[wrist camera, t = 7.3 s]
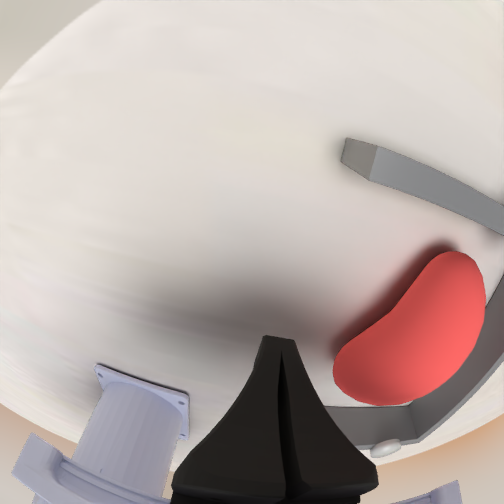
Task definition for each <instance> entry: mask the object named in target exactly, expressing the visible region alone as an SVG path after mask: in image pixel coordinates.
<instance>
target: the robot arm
mask: <svg viewBox="0 0 504 504" xmlns="http://www.w3.org/2000/svg"><path fill="white" fill-rule="evenodd" d="M94 370H95V373H96V375H97V378H98V380H99V382H100V385H101V387H102V389H103V394H102V396H101V398H100V400H99V402H98V403H97V405H96V407H95V409H94V411H93V413H92V416H91V418H90V420H89V422H88V424H87V426H86V428H85V430H84V432H83V434H82V436H81V439H80V441H79V443H78V445H77V447H76V449H75V452H74V454H73V456H72V458H71V459H70V458H68V457H66V456H65V455H63V454H62V453H61V452H60V451H59V450H58V449H56V448H55V447H54V446H52V445H51V444H49V443H48V442H46V441H45V440H43V439H42V438H40V437H39V436H37V435H36V434H34V433H31V434H30V436H29V438H28V439H27V441H26V444H25V446H24V447H23V449H22V452H21V453H20V456H19V458H18V460H17V462H16V464H15V466H14V469H13V471H12V475H13V476H14V477H15V478H16V479H18V480H19V481H20V482H21V483H23V484H24V485H25V486H27V487H28V488H29V489H31V490H32V491H33V492H35V496H34V499H33V502H32V504H357V503H360V495H362V494H365V493H367V492H369V491H371V490H373V489H375V488H376V487H377V486H378V485H379V483H378V475H377V470H376V466H375V464H373V463H372V462H371V461H370V460H369V459H368V458H367V457H365V456H364V455H363V454H362V453H361V452H360V451H359V450H358V449H357V448H356V447H355V446H354V445H353V444H352V443H351V442H350V441H349V439H348V438H347V437H346V436H345V435H344V433H343V432H342V431H341V430H340V428H339V427H338V426H337V425H336V423H335V422H334V420H333V419H332V418H331V416H330V415H329V413H328V412H327V410H326V409H325V407H324V405H323V404H322V402H321V400H320V398H319V397H318V395H317V393H316V391H315V389H314V387H313V385H312V383H311V381H310V379H309V377H308V374H307V372H306V370H305V368H304V365H303V363H302V360H301V357H300V355H299V352H298V349H297V346H296V343H295V341H294V340H291V339H285V338H279V337H274V336H268V335H265V336H263V338H262V341H261V344H260V347H259V350H258V353H257V356H256V359H255V362H254V368H253V371H252V373H251V375H250V377H249V379H248V381H247V382H246V384H245V386H244V388H243V389H242V391H241V393H240V394H239V396H238V397H237V399H236V400H235V402H234V403H233V405H232V406H231V407H230V409H229V410H228V411H227V413H226V414H225V415H224V417H223V418H222V419H221V420H220V421H219V423H218V424H217V425H216V426H215V427H214V428H213V429H212V431H211V432H210V433H209V434H208V435H207V436H206V437H205V438H204V439H203V440H202V441H201V442H200V443H199V444H198V445H197V446H196V447H195V448H194V449H192V450H191V451H190V453H189V454H188V455H187V457H186V458H185V459H184V461H183V462H182V463H181V464H180V466H179V467H178V468H177V470H176V471H175V473H174V476H173V481H172V484H171V486H172V489H173V494H172V498H171V500H170V499H166V498H163V497H162V495H163V491H164V487H165V484H166V480H167V476H168V473H169V469H170V465H171V462H172V458H173V455H174V451H175V448H176V444H177V440H178V439H182V440H188V438H189V397H188V396H187V395H186V394H184V393H181V392H177V391H173V390H170V389H166V388H163V387H160V386H156V385H153V384H150V383H147V382H144V381H141V380H138V379H135V378H132V377H129V376H127V375H124V374H121V373H119V372H116V371H113V370H111V369H108V368H106V367H103V366H101V365H96V366H95V367H94ZM392 504H462V500H461V493H460V489H459V484H458V480H456V481H453V482H451V483H448V484H446V485H443V486H441V487H439V488H437V489H435V490H433V491H431V492H429V493H427V494H423V495H420V496H417V497H414V498H411V499H407V500H403V501H400V502H396V503H392Z"/></svg>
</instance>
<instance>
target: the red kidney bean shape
mask: <svg viewBox="0 0 504 504" xmlns="http://www.w3.org/2000/svg"><path fill="white" fill-rule="evenodd" d="M485 303H486V294H485V288H484V282H483V277H482V274H481V272H480V270H479V268H478V266H477V264H476V262H475V261H474V260H473V259H472V258H471V257H469V256H468V255H467V254H464V253H461V252H457V251H452V252H445V253H442V254H439V255H438V256H436V257H435V258H433V259H432V260H431V261H430V262H429V263H428V264H427V265H426V267H425V268H424V269H423V270H422V272H421V273H420V274H419V276H418V277H417V278H416V280H415V281H414V282H413V284H412V285H411V286H410V287H409V289H408V290H407V291H406V293H405V294H404V295H403V297H402V298H401V299H400V300H399V302H398V303H397V304H396V306H395V307H394V308H393V309H392V310H391V311H390V312H389V313H388V314H387V315H385V316H384V317H383V318H381V319H380V320H378V321H377V322H376V323H374V324H373V325H372V326H370V327H369V328H368V329H366V330H365V331H363V332H362V333H360V334H359V335H358V336H356V337H355V338H353V339H352V340H350V341H349V342H348V343H347V344H346V345H344V346H343V347H342V349H341V350H340V351H339V353H338V354H337V356H336V358H335V361H334V365H333V377H334V381H335V384H336V385H337V386H338V387H339V388H340V389H341V390H342V391H343V392H344V393H345V394H347V395H348V396H350V397H352V398H354V399H355V400H357V401H359V402H363V403H367V404H372V405H376V406H383V405H399V404H403V403H406V402H409V401H412V400H414V399H417V398H420V397H423V396H425V395H427V394H428V393H430V392H432V391H433V390H435V389H436V388H438V387H439V386H441V385H442V384H443V383H445V382H446V381H447V380H448V379H449V378H450V377H451V376H453V375H454V374H455V373H456V372H457V371H458V369H459V368H460V367H461V365H462V364H463V362H464V361H465V360H466V358H467V357H468V355H469V354H470V353H471V351H472V350H473V348H474V346H475V344H476V341H477V339H478V336H479V333H480V331H481V328H482V325H483V322H484V314H485Z"/></svg>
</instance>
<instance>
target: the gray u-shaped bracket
mask: <svg viewBox="0 0 504 504" xmlns="http://www.w3.org/2000/svg"><path fill="white" fill-rule="evenodd" d="M341 162H342V163H344V164H345V165H347V166H348V167H350V168H351V169H353V170H354V171H356V172H357V173H359V174H360V175H362V176H363V177H364V178H366V179H367V180H369V181H372V182H375V183H378V184H382V185H385V186H387V187H390V188H393V189H396V190H399V191H402V192H405V193H407V194H410V195H413V196H416V197H418V198H421V199H423V200H426V201H429V202H431V203H434V204H436V205H439V206H441V207H443V208H446V209H448V210H451V211H453V212H455V213H457V214H460V215H462V216H464V217H466V218H469V219H471V220H473V221H475V222H477V223H479V224H481V225H483V226H486V227H488V228H490V229H492V230H494V231H496V232H497V233H499V234H501V235H503V236H504V206H502V205H501V204H499V203H497V202H496V201H494V200H492V199H491V198H489V197H487V196H486V195H484V194H482V193H480V192H479V191H477V190H475V189H473V188H472V187H470V186H468V185H466V184H464V183H462V182H460V181H458V180H456V179H454V178H452V177H450V176H448V175H446V174H444V173H442V172H440V171H438V170H436V169H434V168H431V167H429V166H427V165H425V164H422V163H420V162H418V161H415V160H413V159H411V158H408V157H406V156H403V155H401V154H398V153H396V152H393V151H391V150H388V149H385V148H382V147H380V146H377V145H373V144H369V143H365V142H362V141H358V140H354V139H349V138H347V139H346V143H345V147H344V151H343V155H342V159H341ZM503 361H504V276H503V278H502V280H501V282H500V283H499V285H498V287H497V289H496V291H495V293H494V295H493V296H492V298H491V300H490V302H489V303H488V305H487V307H486V308H485V314H484V322H483V325H482V328H481V331H480V333H479V336H478V339H477V341H476V344H475V346H474V348H473V350H472V351H471V353H470V354H469V355H468V357H467V358H466V360H465V361H464V362H463V364H462V365H461V367H460V368H459V369H458V371H457V372H456V373H455V374H454V375H453V376H451V377H450V378H449V379H448V380H447V381H446V382H445V383H443V384H442V385H441V386H439V387H438V388H436V389H435V390H433V391H432V392H430V393H428V394H427V395H425V396H423V397H420V398H417V399H415V400H414V401H413V402H412V403H411V404H410V405H409V406H400V407H372V408H355V407H326V406H324V407H325V409H326V410H327V412H328V413H329V415H330V416H331V418H332V419H333V420H334V422H335V423H336V425H337V426H338V427H339V428H340V430H341V431H342V432H343V433H344V435H345V436H346V437H347V438H348V439H349V441H350V442H351V443H352V444H353V445H354V446H355V447H356V448H357V449H358V450H368V449H370V455H371V457H372V458H379V457H384V456H387V455H390V454H392V453H395V452H396V451H398V450H399V449H400V448H401V446H402V445H408V444H414V443H419V442H420V441H422V440H423V439H424V438H426V437H427V436H428V435H430V434H431V433H432V432H433V431H435V430H436V429H437V428H438V427H439V426H441V425H442V424H443V423H444V422H445V421H446V420H448V419H449V418H450V417H451V416H452V415H453V414H454V413H455V412H456V411H458V410H459V409H460V408H461V407H462V406H463V405H464V404H465V403H466V402H467V401H468V400H469V399H470V398H471V397H472V396H473V395H474V394H475V393H476V392H477V391H478V390H479V389H480V388H481V386H482V385H483V384H484V383H485V382H486V381H487V380H488V379H489V378H490V376H491V375H492V374H493V373H494V372H495V371H496V369H497V368H498V367H499V366H500V365H501V363H502V362H503Z"/></svg>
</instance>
